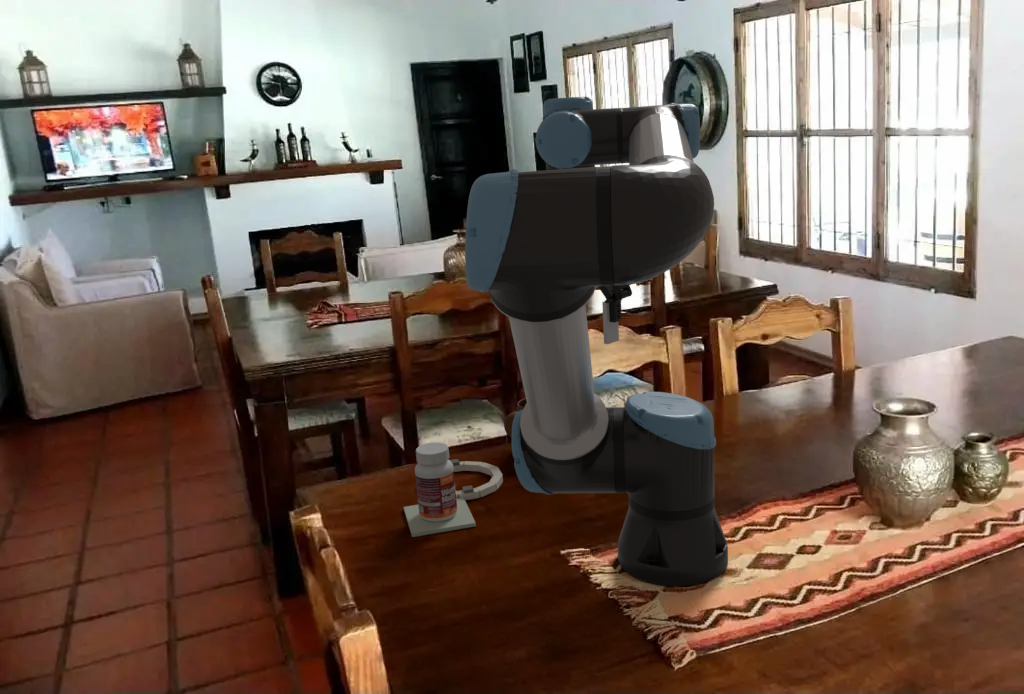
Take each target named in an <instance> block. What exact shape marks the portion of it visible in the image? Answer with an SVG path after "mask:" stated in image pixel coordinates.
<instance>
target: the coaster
mask: <svg viewBox="0 0 1024 694" xmlns="http://www.w3.org/2000/svg"><path fill="white" fill-rule="evenodd" d="M456 500H457V513H456V515H455V516H454V517H452V518H450V519H448V520H445V521H441V522H431V521H426V520H424V519H422V518H421V517H420V515H419V507H418V504H413V505H407V506H406V505H405V506H403V512H404V515H405V518H406V522H407V524H408V528H409V531H410V534H411V538H414V537H415V538H416V537H422V536H427V535H434V534H440V533H444V532H451V531H455V530H462V529H469V528H473V527H474V528H475V527H476V526H477V523H476V520H475V519H474V516H473V514H472V512H471V509H470V507H469V506H468V503H467V502H466V501H467V500H465V499H464V497H461V498H456Z"/></svg>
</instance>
